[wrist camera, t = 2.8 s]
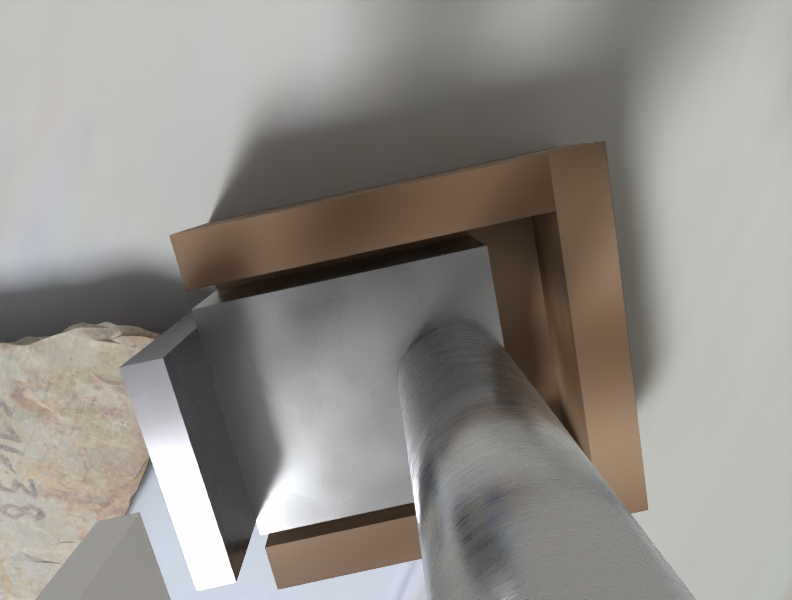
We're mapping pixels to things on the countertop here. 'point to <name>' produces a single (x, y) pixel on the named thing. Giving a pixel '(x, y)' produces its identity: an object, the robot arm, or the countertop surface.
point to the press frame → (515, 295)
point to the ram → (382, 431)
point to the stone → (64, 446)
